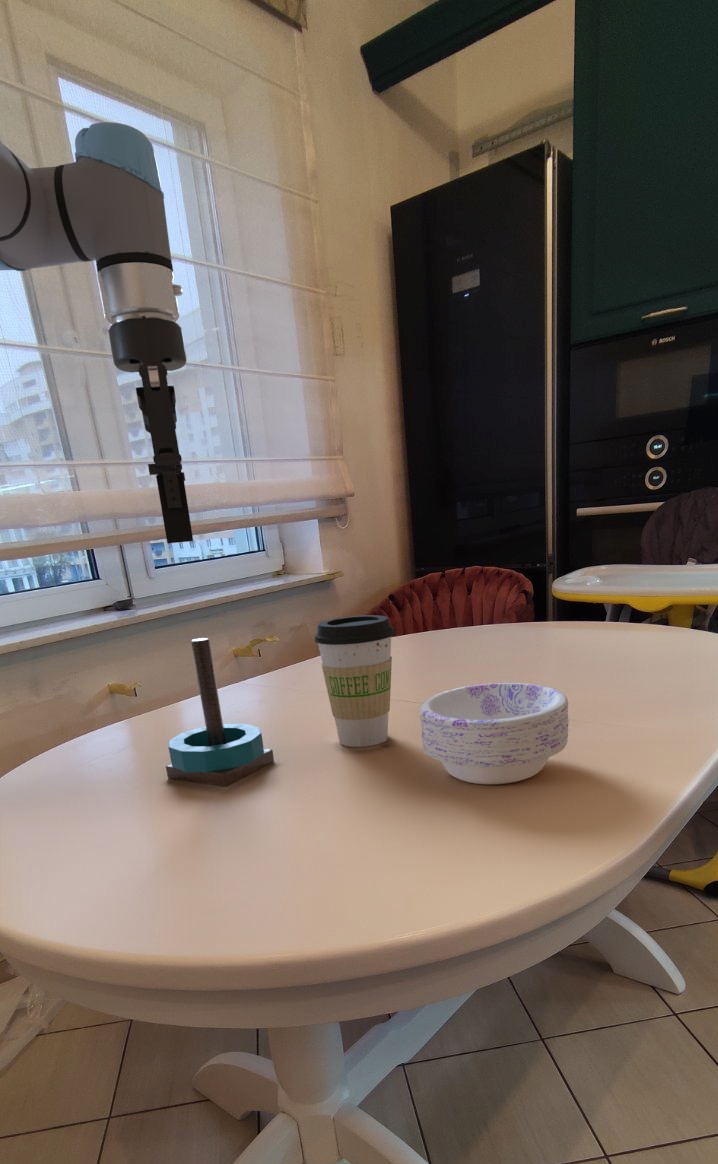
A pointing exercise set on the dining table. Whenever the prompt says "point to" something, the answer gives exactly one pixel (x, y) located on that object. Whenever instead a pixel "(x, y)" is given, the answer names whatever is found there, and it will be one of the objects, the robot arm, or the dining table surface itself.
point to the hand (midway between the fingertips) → (179, 541)
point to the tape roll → (216, 749)
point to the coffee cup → (357, 676)
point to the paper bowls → (495, 730)
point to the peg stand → (214, 724)
